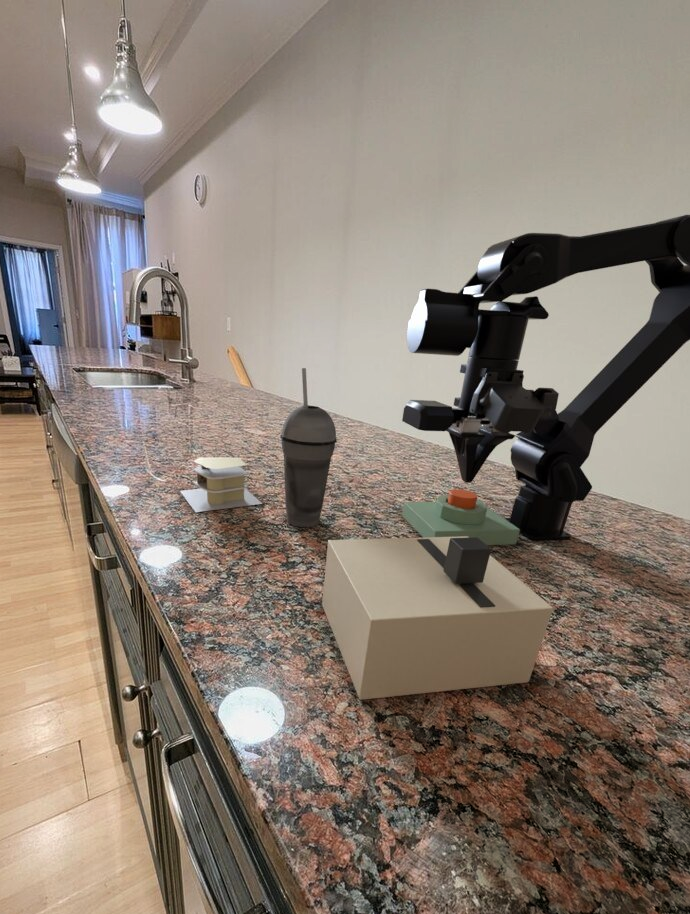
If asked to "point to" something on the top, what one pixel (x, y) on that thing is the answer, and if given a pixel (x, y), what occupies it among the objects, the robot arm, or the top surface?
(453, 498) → the button
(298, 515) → the beverage cup
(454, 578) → the toaster slider
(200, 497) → the stacked layers on plate
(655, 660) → the top surface
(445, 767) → the top surface
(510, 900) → the top surface
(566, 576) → the top surface
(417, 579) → the beige slider box
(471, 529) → the block
